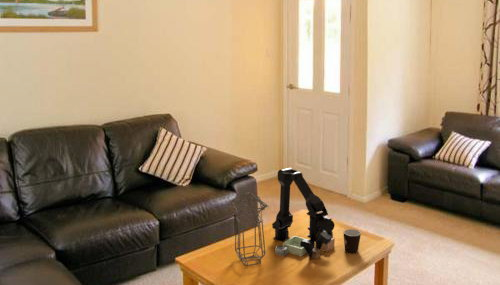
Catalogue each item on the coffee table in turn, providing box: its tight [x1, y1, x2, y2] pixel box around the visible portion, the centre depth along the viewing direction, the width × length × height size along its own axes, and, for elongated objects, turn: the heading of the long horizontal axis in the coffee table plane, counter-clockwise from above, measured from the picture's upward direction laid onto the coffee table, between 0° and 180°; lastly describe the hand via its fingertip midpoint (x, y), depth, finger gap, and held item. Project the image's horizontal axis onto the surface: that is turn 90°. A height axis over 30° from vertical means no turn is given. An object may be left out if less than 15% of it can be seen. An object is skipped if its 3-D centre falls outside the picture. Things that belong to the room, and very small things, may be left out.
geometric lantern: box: [229, 191, 269, 267], centre depth 242 cm, size 16×16×35 cm
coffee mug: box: [343, 228, 362, 255], centre depth 256 cm, size 12×9×10 cm
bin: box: [282, 235, 307, 257], centre depth 257 cm, size 11×11×4 cm
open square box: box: [315, 236, 336, 253], centre depth 259 cm, size 7×7×5 cm
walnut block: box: [311, 248, 321, 260], centre depth 249 cm, size 4×4×4 cm
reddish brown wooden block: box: [274, 244, 289, 257], centre depth 253 cm, size 5×4×4 cm
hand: (314, 254), depth 249 cm, fingers open, 8 cm apart
